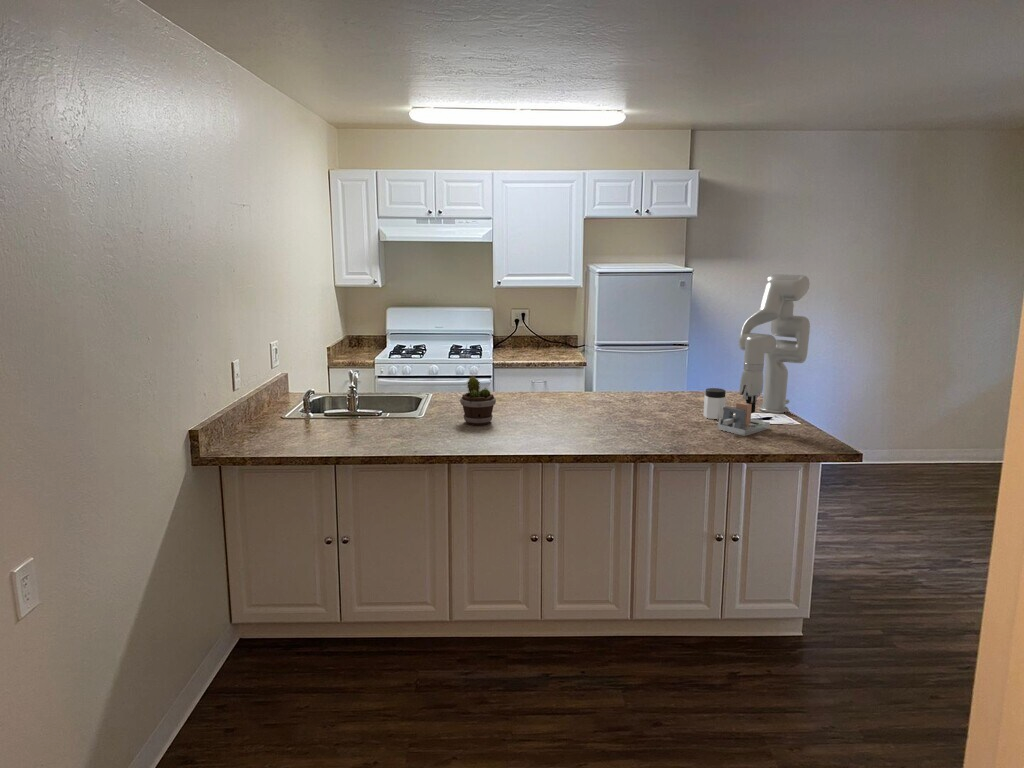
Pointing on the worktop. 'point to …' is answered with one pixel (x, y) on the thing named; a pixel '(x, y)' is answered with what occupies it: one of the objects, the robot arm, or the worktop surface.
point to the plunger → (747, 416)
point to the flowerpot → (477, 404)
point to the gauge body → (740, 422)
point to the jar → (714, 403)
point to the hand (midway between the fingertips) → (750, 411)
